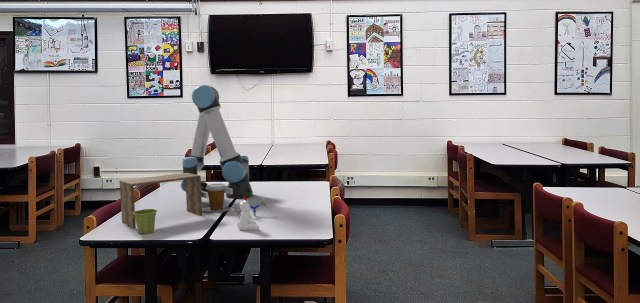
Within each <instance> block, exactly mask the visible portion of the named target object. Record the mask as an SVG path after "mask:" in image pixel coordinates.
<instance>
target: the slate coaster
mask: <svg viewBox="0 0 640 303" xmlns="http://www.w3.org/2000/svg"><path fill="white" fill-rule="evenodd" d="M231 208H232V206H227V205H224V206H223V209H221V210H211V209H210V206H208V207H205V208H202V213H203V212H204V213H209V214H210V213H211V214H214V213H215V214H217V213H224V212H229V211H232V210H231Z"/></svg>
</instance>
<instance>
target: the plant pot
mask: <svg viewBox="0 0 640 303" xmlns="http://www.w3.org/2000/svg"><path fill="white" fill-rule="evenodd" d="M157 212H158V210H157V209H154V208H144V209H139V210H135V212H133V214H134V217H135V222H136V229H137V233H138V234H143V235H146V234H151V233H153V232H155V226H156V222H155V221H156V216H157Z"/></svg>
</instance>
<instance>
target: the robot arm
mask: <svg viewBox="0 0 640 303" xmlns="http://www.w3.org/2000/svg"><path fill="white" fill-rule="evenodd" d="M191 99H192V103H193V104H194V106H196V108H197V110H198V112H199V115H198V119H197V124H196V129H195V133H194V139H193V143H192V147H191V153H190V156H186V157H183V158H182V173H191V174H195V175H199V174H198V173H199V171H202V170H203V168H204V166H205V161H204V160H205V156H206V155H205V154H206V150H207V146H208V142H209V138H210V134H211V138H212V139H213V142H214V144H215V146H216V150H217V152H218V155H219V156H220V159H219V166H220V168H221V173H222V176H223V178H224V180H225V181H227V182H228V184H227V185H225V187H226V188H225V197H226V198H229V199H244V196H246V198H251V197H253V195H254V193H253V192H254V190H253V188H252V185H251V183H250V166H249V165H250V164H249V163H250V160H249V157H248V155H241V154H240V153H239V152H237V151H236V149H235V146H234V144H233V141H232V139H231V137H230V133H229V131H228V128H227V127H226V124H225V121H224V118H223V116H222V113H221V110H220V109H221V107H222V106H221V103H220V94H219V91H218V90H217V89H216V88H215V87H213V86H211V85H206V84H202V85H199V86H196V87H195V88H194V89H193V91H192V94H191ZM207 185H209V184H208V183H207V182H205V181H203V180H201V196H202V199H203V198H204V199H209V198H208V192H207V189H206V188H207ZM180 188H181V190H182V191H183V192H185V193H186V180H181V182H180Z"/></svg>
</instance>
